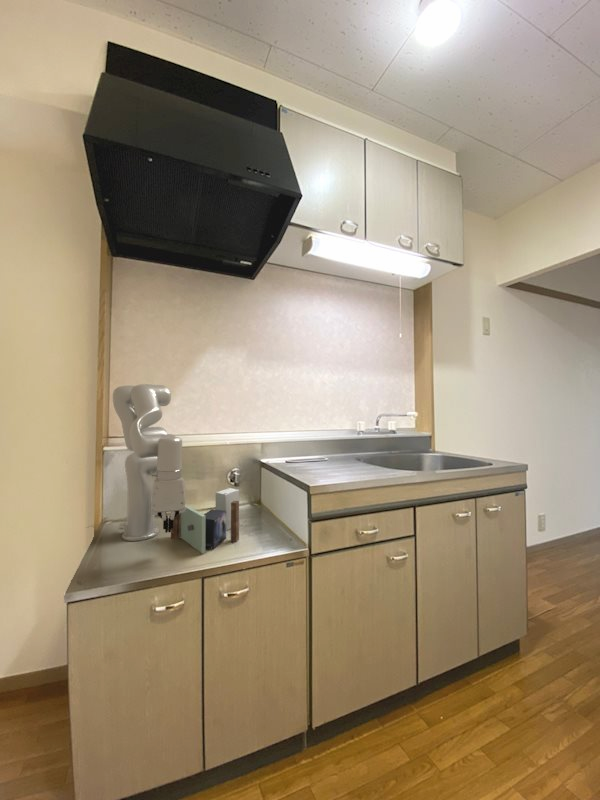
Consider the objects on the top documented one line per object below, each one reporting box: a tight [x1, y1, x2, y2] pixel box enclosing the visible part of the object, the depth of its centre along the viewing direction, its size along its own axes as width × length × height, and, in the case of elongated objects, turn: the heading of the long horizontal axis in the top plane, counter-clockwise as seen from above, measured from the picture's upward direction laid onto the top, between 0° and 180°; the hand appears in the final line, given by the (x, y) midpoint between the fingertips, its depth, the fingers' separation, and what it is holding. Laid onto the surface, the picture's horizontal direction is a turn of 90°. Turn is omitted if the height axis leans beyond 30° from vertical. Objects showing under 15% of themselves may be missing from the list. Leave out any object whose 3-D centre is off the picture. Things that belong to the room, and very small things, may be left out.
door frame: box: [170, 500, 240, 543], centre depth 121 cm, size 25×3×14 cm, turn 83°
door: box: [180, 504, 206, 554], centre depth 115 cm, size 19×3×12 cm, turn 41°
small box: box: [203, 508, 227, 550], centre depth 117 cm, size 11×6×10 cm, turn 168°
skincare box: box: [215, 487, 240, 532], centre depth 133 cm, size 8×6×15 cm
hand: (168, 530), depth 107 cm, fingers closed
